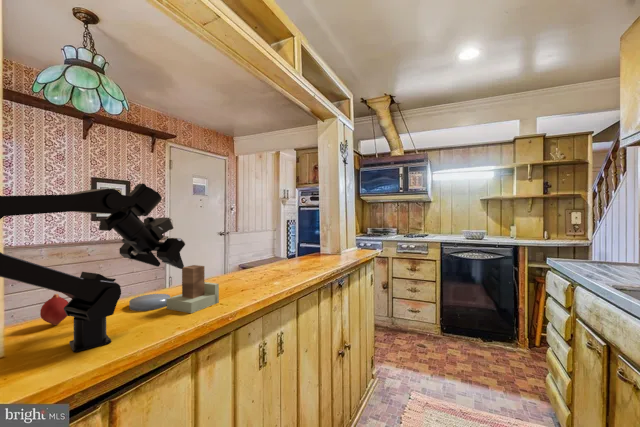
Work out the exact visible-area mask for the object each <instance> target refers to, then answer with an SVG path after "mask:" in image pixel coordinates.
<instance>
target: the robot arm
mask: <svg viewBox="0 0 640 427" xmlns="http://www.w3.org/2000/svg"><path fill="white" fill-rule="evenodd" d="M162 199H163V198H162V195H161V193H159V192H158V191H157V190H155V189H153V188H151V187H149V186H147V185H146V184H145V183H137V184H136V185H135V187H134V188H132V190H131V191H130V192H129V193H128V194H127V195H126V194H122V193H121V192H120V191H119V190H118V189H116V188H112V187H111V188H93V189H87V190H83V191H77V192H73V193H67V194H32V195H31V194H30V195H28V194H27V195H0V220H1V219H2V218H4V217H11V216H14V217H15V216H27V215H28V216H29V215H39V214H40V215H41V214H53V213H54V214H56V213H69V212H71V213H82V214H93V215H95V214H96V215H98V214H99V215H100V214H101V215H102V214H103V215H108V216H107V217H106V218H100V219H99V226H98V230H99V231H102V232H103V231H104V232H106V231H107V232H110V231H112V230H114V231H115V232H116V233H117V234H118V235H119V236H120V237H122V240H121V242H122V243H123V244H122V245H121V247H119V255H121V256H122V257H123V259H124V258H125V259H129V260H132V261H135V262H139V263H143V264H146V265H150V266H153V267H160V266H161V263H163V264H167V265H169V266H172V267H174V268H176V269H180V270H182V268H183V267H185V265H184V262H183V259H182V255H181V251H182V250H183V248H184V247H185V246H186V242H185V241H184V240H183V239H182V238H180V237H167V238H166V239H165V241H164V242H163V241H161V240H163V238H164V237H165V236H164V234H165V233H167V232H169V231H171V230H173V229H174V225H173V223H172V220H171V218H170V217H155V218H154V217H153V216H149V215H150V213H151V212H153V210H154V209H155V208H156V207H157V206H158V205H159V204H160V203H161V201H162ZM147 216H148V217H147ZM140 217H145V218H144V219H143V220H142V219H141V218H140ZM153 252H156V256H155V254H154V253H153ZM158 259H159V260H158ZM160 260H161V262H160ZM0 278H3V279H7V280H10V281H15V282H17V283H22V284H26V285H30V286H35V287H36V288H38V287H39V288H43V289H46V290H50V291H53V292H56V293H57V292H58V293H61V294H63V295H65V296H67V297H68V298H70V301H68V302H69V303H68V304H67V305H66V306H65V307H64V311H65V313H66V315H67V317H72V318H73V339H72V340H70V341H69V344H68V345H69V346H70V348H71V350H72V352H73V353H78V352H82V351H84V350H89V349H93V348H96V347H101V346H104V345H107V344H111V343H112V339H111V338H110V337H109V335H108V334H107V317H110V316H113V315H114V313H115V311H116V307H117V304H118V301H119V299H120V298H121V296H122V288H121V285H120V284H119V283H117V282H116V280H117V279H116V278H113V277H112V278H111V277H106V276H104V275H103V274H100V273H96V272H87V271H81V273H80V277H79V276H76V275H72V274H70V273H67V272H64V271H60V270H56V269H54V268H50V267H47V266H44V265H42V264H37V263H34V262H32V261H27V260H25V259H22V258H18V257H15V256H11V255H8V254H6V253H3V252H0Z"/></svg>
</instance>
